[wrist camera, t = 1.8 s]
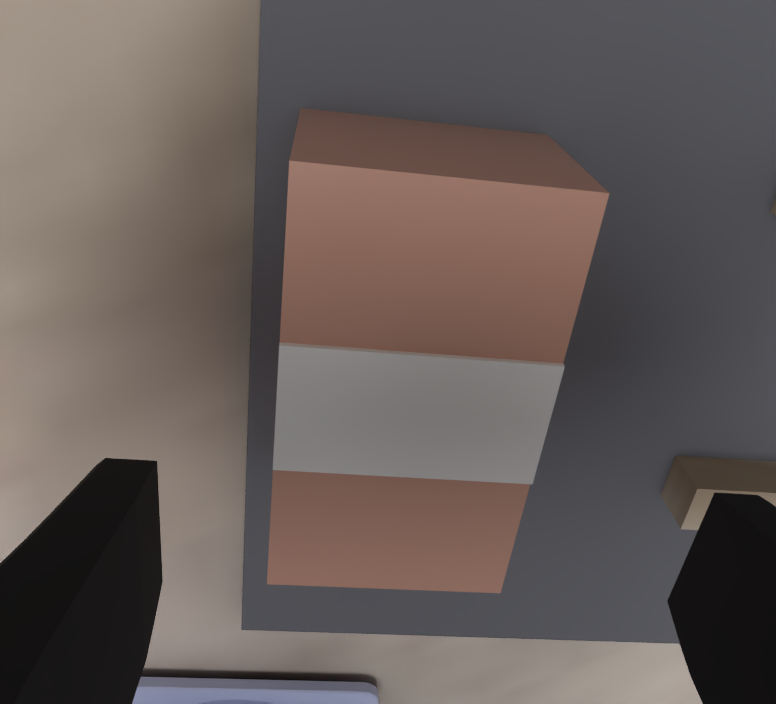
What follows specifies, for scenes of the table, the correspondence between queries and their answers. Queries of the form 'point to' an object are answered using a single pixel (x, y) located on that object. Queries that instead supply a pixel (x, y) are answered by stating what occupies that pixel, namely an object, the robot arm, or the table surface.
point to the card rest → (714, 481)
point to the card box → (419, 346)
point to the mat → (601, 290)
